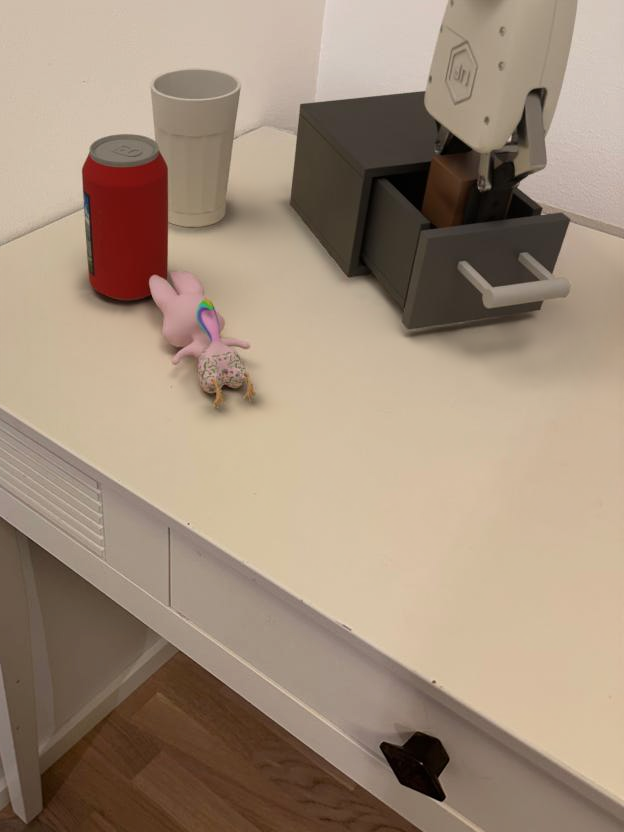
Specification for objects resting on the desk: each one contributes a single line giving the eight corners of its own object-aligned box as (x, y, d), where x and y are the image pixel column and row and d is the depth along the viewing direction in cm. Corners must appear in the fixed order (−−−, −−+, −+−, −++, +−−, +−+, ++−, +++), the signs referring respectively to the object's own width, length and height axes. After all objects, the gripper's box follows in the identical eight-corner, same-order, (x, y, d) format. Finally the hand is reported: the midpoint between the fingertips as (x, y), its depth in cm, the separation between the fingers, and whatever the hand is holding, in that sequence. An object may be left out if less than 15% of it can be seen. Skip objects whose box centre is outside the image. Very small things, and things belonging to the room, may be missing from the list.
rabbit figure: (271, 409, 65) (196, 283, 74) (284, 349, 61) (203, 222, 69) (192, 428, 64) (125, 297, 72) (200, 368, 59) (127, 236, 68)
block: (473, 205, 72) (487, 149, 68) (502, 231, 68) (518, 173, 65) (420, 212, 71) (432, 156, 68) (447, 239, 68) (461, 181, 64)
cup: (147, 196, 89) (145, 70, 80) (225, 191, 89) (232, 66, 81) (156, 233, 83) (155, 102, 75) (240, 228, 83) (249, 97, 75)
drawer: (580, 348, 67) (616, 254, 61) (440, 370, 65) (465, 275, 59) (459, 232, 80) (479, 147, 75) (340, 248, 78) (353, 162, 73)
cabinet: (481, 258, 78) (509, 152, 72) (347, 276, 77) (365, 168, 70) (408, 188, 89) (427, 90, 82) (289, 203, 87) (299, 103, 80)
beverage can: (120, 258, 79) (115, 124, 71) (183, 280, 77) (185, 142, 68) (73, 291, 75) (62, 152, 67) (137, 315, 73) (134, 173, 64)
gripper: (412, -69, 63) (372, 180, 75) (545, -5, 50) (470, 280, 63) (509, -76, 64) (454, 170, 76) (661, -16, 51) (566, 266, 64)
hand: (462, 217), depth 69 cm, fingers closed on block, 4 cm apart
